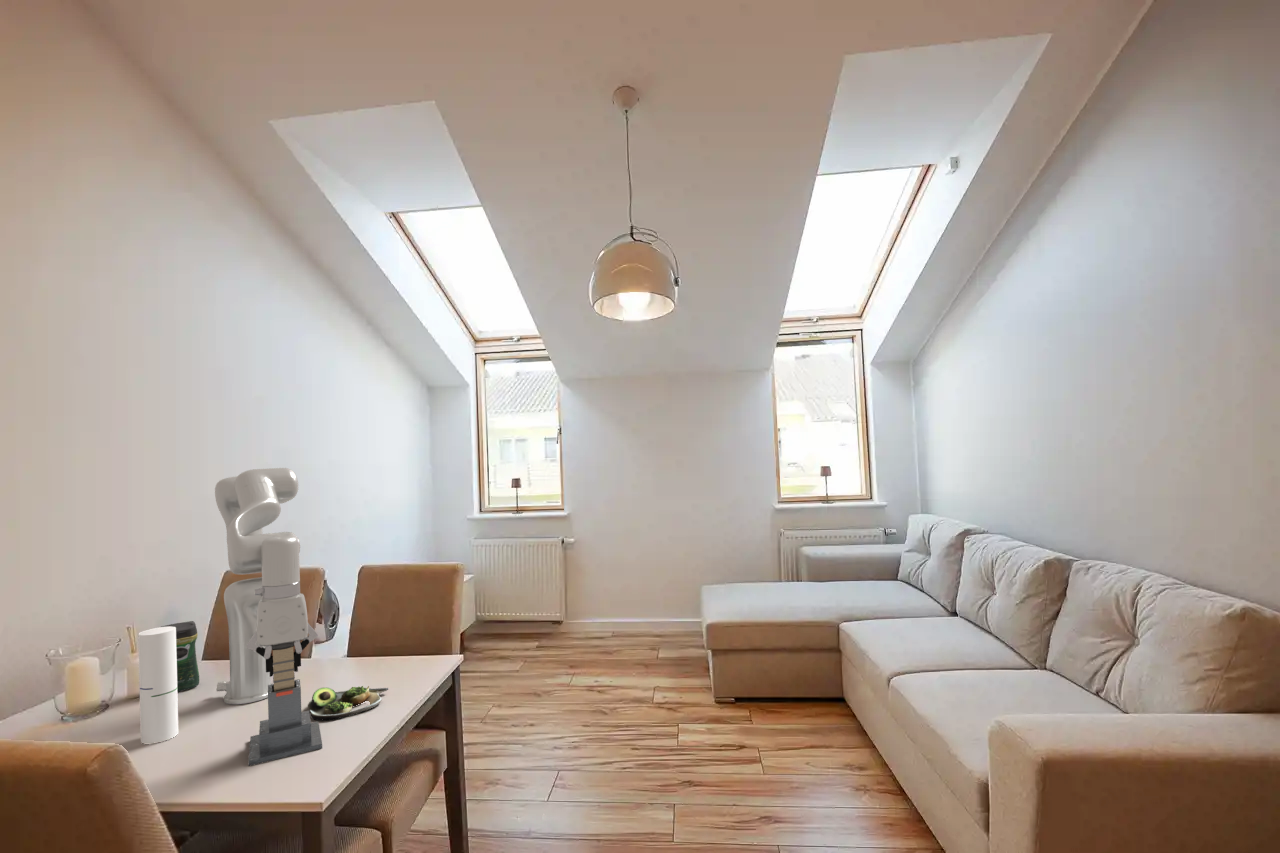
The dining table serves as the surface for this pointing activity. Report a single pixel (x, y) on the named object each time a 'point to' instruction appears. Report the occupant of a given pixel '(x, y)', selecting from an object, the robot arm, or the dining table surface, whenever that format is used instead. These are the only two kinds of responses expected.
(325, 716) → the salad plate
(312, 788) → the dining table surface
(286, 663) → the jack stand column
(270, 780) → the dining table surface
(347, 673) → the dining table surface
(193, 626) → the coffee jar
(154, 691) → the cylindrical container
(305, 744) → the stand
